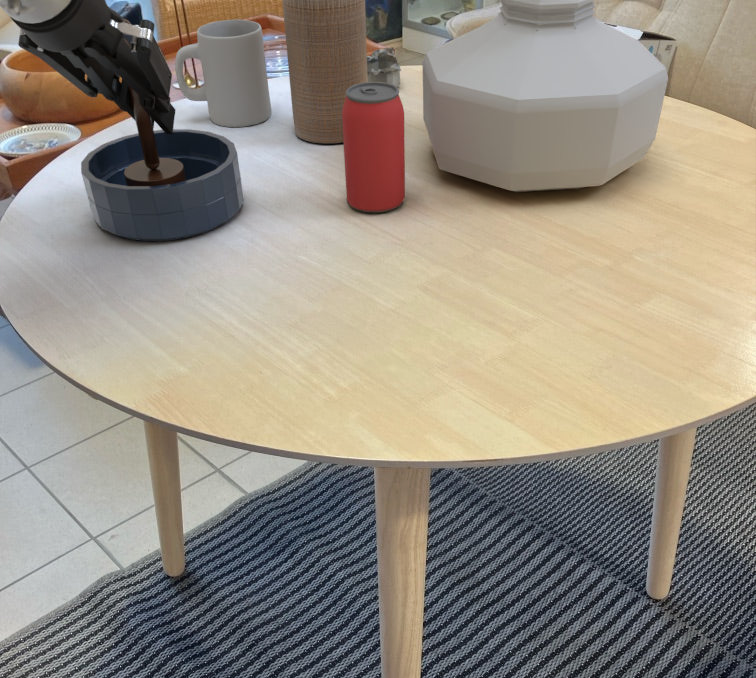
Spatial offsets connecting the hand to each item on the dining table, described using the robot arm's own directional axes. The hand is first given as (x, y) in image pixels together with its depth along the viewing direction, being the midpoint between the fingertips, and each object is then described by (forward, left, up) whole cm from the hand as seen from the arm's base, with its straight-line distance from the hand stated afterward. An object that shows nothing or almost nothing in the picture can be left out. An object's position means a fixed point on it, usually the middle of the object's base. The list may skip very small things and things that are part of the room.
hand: (160, 121), depth 93 cm
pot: (+16, +40, -9) cm, 44 cm away
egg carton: (-20, +38, -9) cm, 44 cm away
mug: (-20, +16, -9) cm, 27 cm away
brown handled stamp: (+3, -3, -6) cm, 7 cm away
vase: (-7, +25, -9) cm, 28 cm away
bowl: (+3, -2, -9) cm, 9 cm away
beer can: (+15, +18, -9) cm, 25 cm away
